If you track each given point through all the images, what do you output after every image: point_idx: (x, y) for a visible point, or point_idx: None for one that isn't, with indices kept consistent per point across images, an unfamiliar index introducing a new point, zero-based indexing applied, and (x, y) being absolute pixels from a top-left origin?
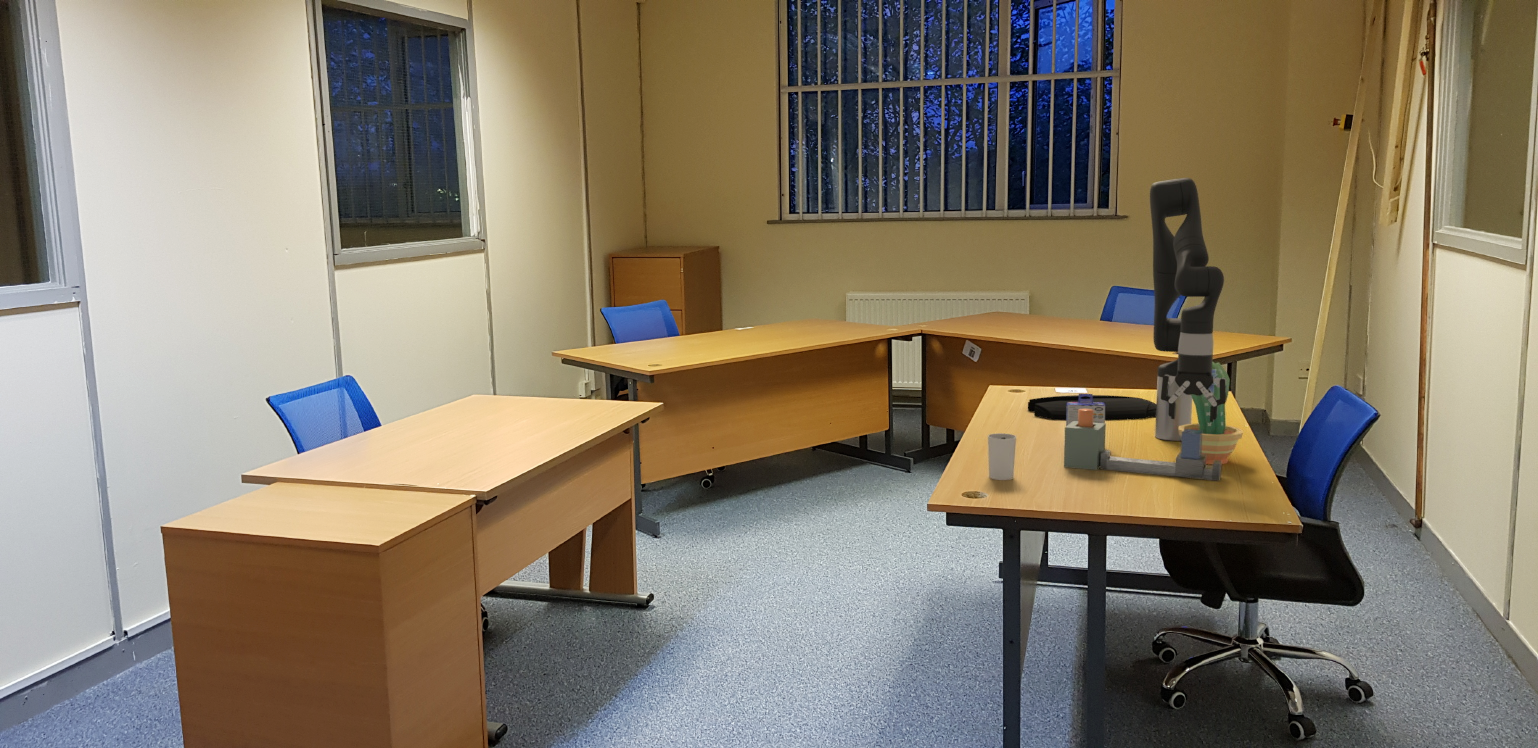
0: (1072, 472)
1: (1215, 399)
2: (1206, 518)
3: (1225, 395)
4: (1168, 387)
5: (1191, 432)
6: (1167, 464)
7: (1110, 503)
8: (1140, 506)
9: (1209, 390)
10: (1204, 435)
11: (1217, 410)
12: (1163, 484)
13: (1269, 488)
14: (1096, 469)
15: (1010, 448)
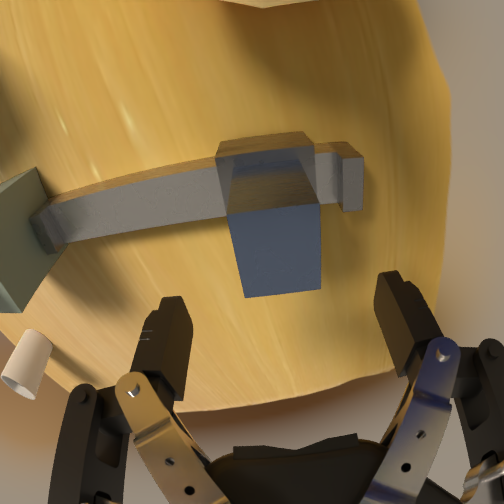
0: (58, 281)
1: (448, 378)
2: (337, 383)
3: (488, 415)
4: (86, 463)
5: (279, 275)
6: (201, 206)
7: (212, 387)
8: (250, 384)
9: (430, 445)
10: (275, 5)
11: (432, 318)
12: (234, 281)
13: (446, 201)
14: (67, 245)
15: (38, 384)
